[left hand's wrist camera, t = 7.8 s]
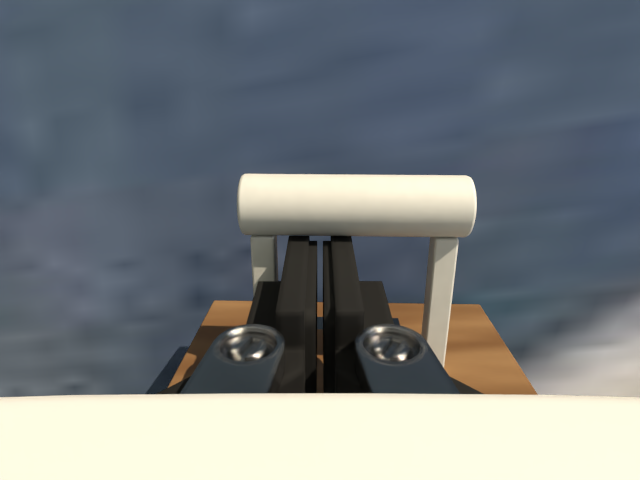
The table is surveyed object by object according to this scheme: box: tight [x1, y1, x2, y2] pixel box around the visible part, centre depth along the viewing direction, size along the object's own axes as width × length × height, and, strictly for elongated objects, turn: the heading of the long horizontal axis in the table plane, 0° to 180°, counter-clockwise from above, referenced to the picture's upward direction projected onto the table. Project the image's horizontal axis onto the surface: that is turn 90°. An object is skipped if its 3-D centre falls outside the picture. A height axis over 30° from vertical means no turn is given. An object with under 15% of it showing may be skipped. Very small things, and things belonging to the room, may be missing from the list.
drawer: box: [168, 174, 538, 395], centre depth 15 cm, size 21×10×7 cm, turn 0°
